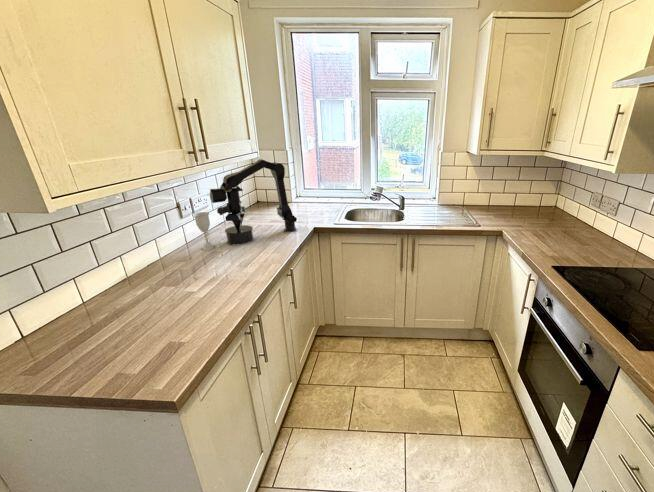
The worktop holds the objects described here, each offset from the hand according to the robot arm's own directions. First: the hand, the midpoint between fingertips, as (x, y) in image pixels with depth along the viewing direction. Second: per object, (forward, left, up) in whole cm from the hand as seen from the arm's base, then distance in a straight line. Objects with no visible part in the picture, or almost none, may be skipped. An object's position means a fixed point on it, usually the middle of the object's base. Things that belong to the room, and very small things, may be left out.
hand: (238, 228), depth 168 cm
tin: (0, 0, -7) cm, 7 cm away
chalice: (+8, -14, -7) cm, 18 cm away
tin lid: (0, 0, -1) cm, 1 cm away
